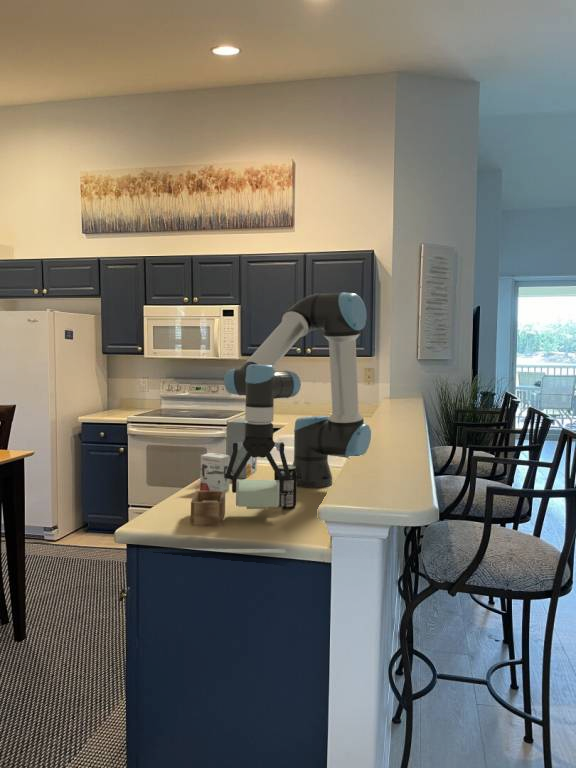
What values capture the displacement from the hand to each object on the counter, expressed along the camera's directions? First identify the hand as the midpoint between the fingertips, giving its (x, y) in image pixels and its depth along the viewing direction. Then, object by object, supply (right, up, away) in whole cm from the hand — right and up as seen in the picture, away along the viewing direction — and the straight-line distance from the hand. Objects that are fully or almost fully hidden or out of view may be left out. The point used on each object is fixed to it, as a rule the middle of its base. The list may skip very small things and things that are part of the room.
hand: (257, 504), depth 168 cm
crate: (-13, -4, -2) cm, 14 cm away
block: (-13, -3, +1) cm, 14 cm away
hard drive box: (-9, -1, +61) cm, 62 cm away
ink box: (-16, -2, +34) cm, 37 cm away
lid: (0, +1, 0) cm, 1 cm away
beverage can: (+7, -4, +16) cm, 18 cm away
